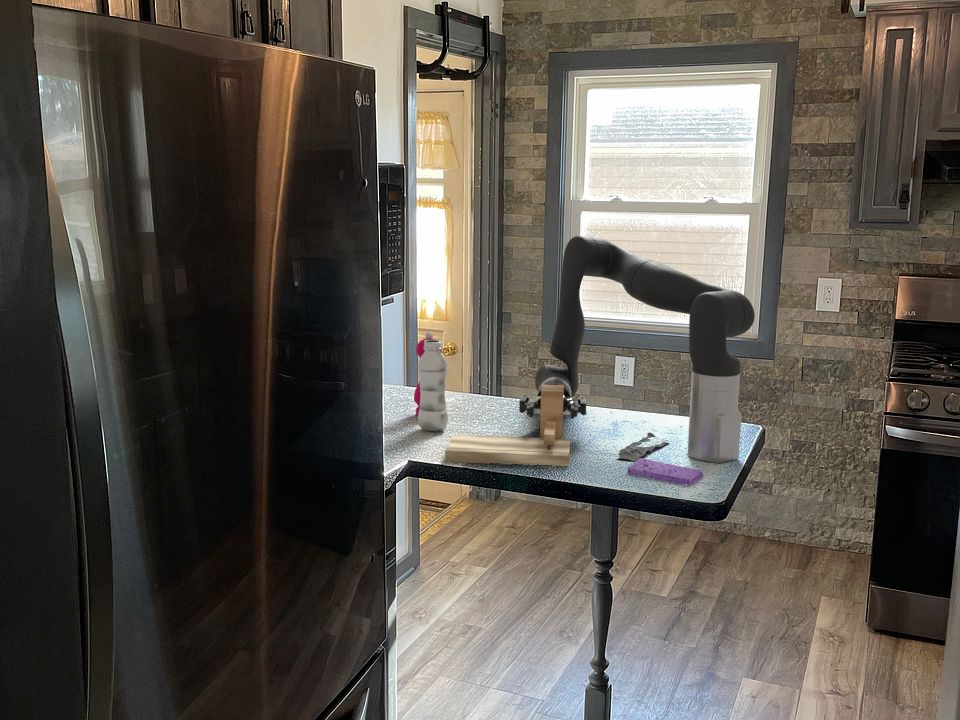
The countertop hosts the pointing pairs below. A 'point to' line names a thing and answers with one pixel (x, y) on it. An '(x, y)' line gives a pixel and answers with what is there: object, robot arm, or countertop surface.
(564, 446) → the pine board
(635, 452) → the driftwood
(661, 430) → the countertop surface
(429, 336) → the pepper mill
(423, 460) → the countertop surface
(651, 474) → the sponges
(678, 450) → the countertop surface
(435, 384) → the plastic bottle
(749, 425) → the countertop surface
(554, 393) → the block
